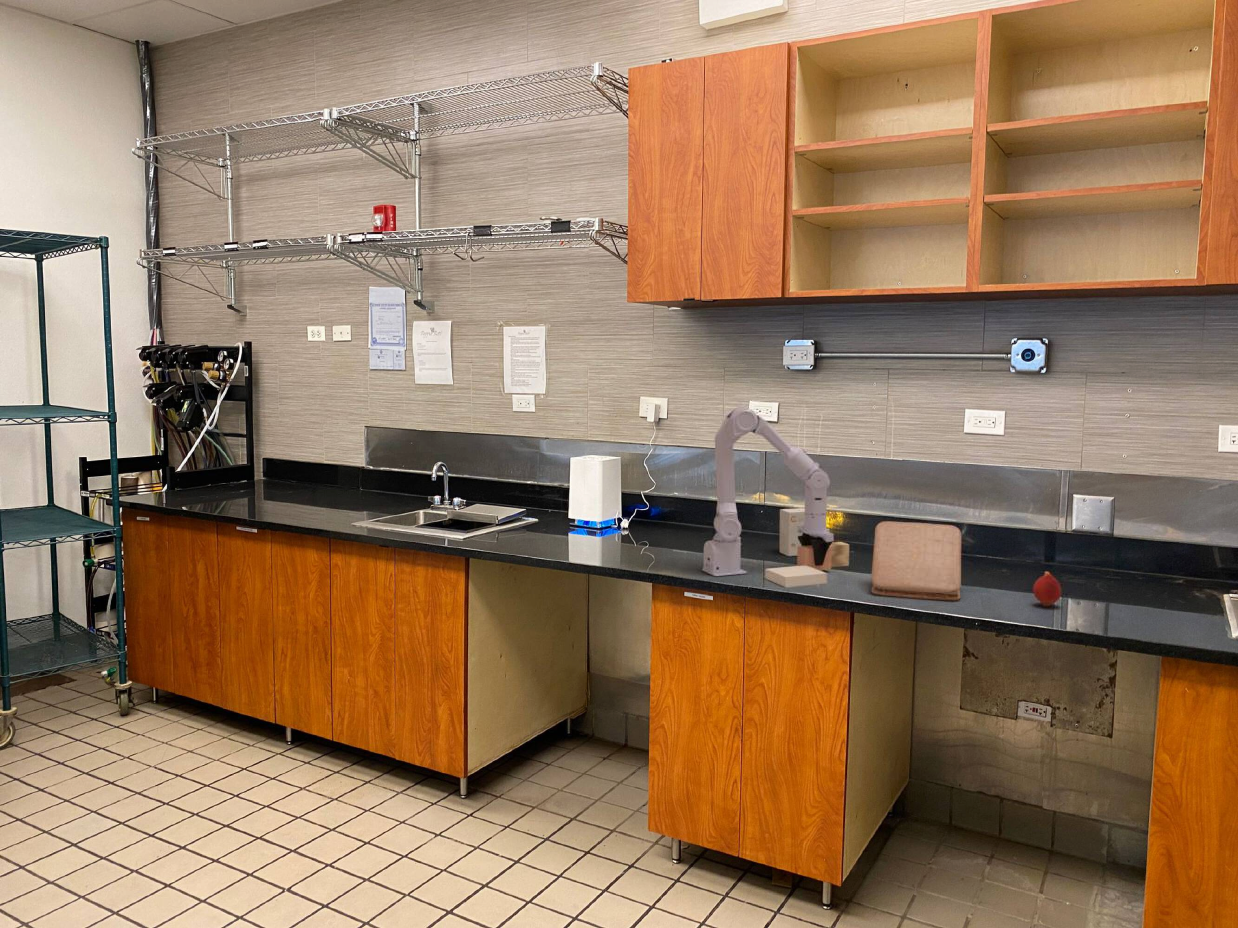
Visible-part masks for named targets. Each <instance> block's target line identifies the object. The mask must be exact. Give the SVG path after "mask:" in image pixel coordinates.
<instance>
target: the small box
mask: <svg viewBox="0 0 1238 928" xmlns="http://www.w3.org/2000/svg"><path fill="white" fill-rule="evenodd" d="M804 512H805V507H799V508H783V509H779V553H780V554H782V555H785V556H786V557H794V556H795V557H796V556H797V548H798V546H801V543H800V541H799V540H798V536H802V535H803V533H798V532H797V525H804Z"/></svg>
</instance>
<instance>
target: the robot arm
mask: <svg viewBox="0 0 1238 928" xmlns="http://www.w3.org/2000/svg"><path fill="white" fill-rule="evenodd" d="M749 433H752V434H755V435H759V436H761V437H763V438H764V440H766V441H767V442H768V443H769V444H770V445H771V446H772V447H773V448H775V449H776V450H777V451H778V452H779V453H780V454H781V455H782V457H783V461H782V462H783V464H784V465H785V466H786V467H787V468H789V470H790V471H791V472H792V473H794V475H796V477H798V479H800V480H801V481H802V483H803V485H804V486H805V488H804V489H805V490H804V491H805V492H804V493H805V495H804V508H805V512H804V525H797V532H798V533H803V535H802V536H798V540H799V541H800V543H801V546H810V545H812V547H813V552H814V563H815V566H821V565H823V563H824V559H825V556H826V553H827V551H828V549H829V547H830V545H831V544H832V543H833V542H835V541H834V536H835V535H834V533H832V532H830V529H829V528H827V511H828V509H827V504H828V503H827V501H828V500H827V499H828V498H827V497H828V496H827V489H828V488H829V486H830V484H831V480H830V478H829V474H828V473H827V472H826V471H824V470H823V469H821V468H820V464H819V463H818V462H816V461H815V460H813V459H812V458H811V457H810V456H809V455H807V454H808V451H807V450H806V449H805V448H802V449H801V448H800V447H799V446H798V447H797V446H795V447H793V446H791V444H789V443H788V442H787V440H785V438H783V436H782V435H781V434H780V433H779V432H778V431H777V430H776V429H775V427H773V426H772V425H771V424H770V423H769V422H768V421H767V420H765V419H764V418H763V417H762V416H760V415H757V413H756V412H755V411H754V410H753V409H750V408H747V407H742V406H737V407H735V408H734V409H732V410H731V411H730V412H728V414H726V416H725V418H724V420H723V422H722V424H721V425H720V427H719V429H718V430H717V432H716V434H715V436H714V452H715V475H716V477H715V478H716V497H717V504H716V515H715V517H714V519H713V527H714V529H715V534H714V535H713V539H712V540H708V541H706V542H705V543H704V545H703V568H702V571H703V572H706V573H708V574H709V575H711V576H713V577H721V576H732V575H733V576H734V575H743V574H747V573H748V572H747V570H744V569H741V561H742V560H741V559H742V557H741V555H742V554H741V552H742V551H741V550H742V549H741V545H742V543H741V539H742V538H741V536H740V535H741V534H742V524H741V522H740V520H739V519H738V510H737V505H736V503H737V502H736V482H735V479H736V478H735V458H734V444H735V443H737V441H739V440H740V439H741V438H742V437H743V436H745V435H747V434H749Z"/></svg>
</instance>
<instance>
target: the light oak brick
mask: <svg viewBox="0 0 1238 928" xmlns="http://www.w3.org/2000/svg"><path fill="white" fill-rule="evenodd" d="M830 547H832V553H831V568H840V567H847V566H848V567H849V564H850V544H848V543H846V542H842V541H836V542H835V541H832V544H831V545H830Z"/></svg>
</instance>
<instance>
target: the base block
mask: <svg viewBox="0 0 1238 928" xmlns="http://www.w3.org/2000/svg"><path fill="white" fill-rule="evenodd" d="M765 579H766V580H768V581H771V582H773V583H775V584H777V585H779V586H781V587H785V588H792V587H803V586H811V585H812V586H813V585H821V584H823V585H824V584H827V583H828V573H827V572H824V571H823V570H817V569H814V568H812V567H809V566H806V565H803V566H797V565H796V566H795V565H793V566H783V567H781V566H780V567H772V568H771V567H770V568H765Z"/></svg>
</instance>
